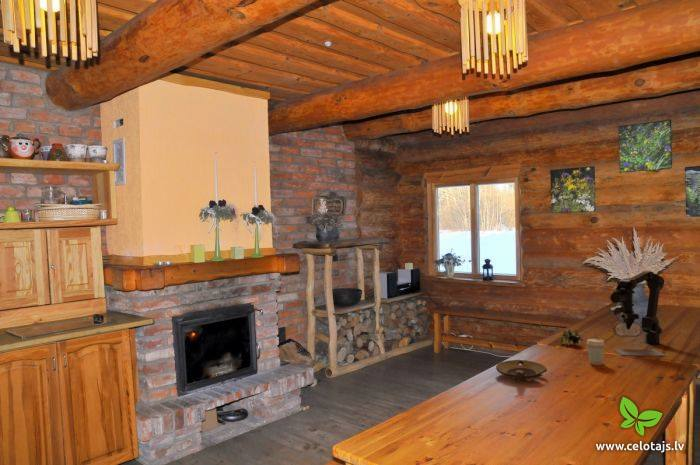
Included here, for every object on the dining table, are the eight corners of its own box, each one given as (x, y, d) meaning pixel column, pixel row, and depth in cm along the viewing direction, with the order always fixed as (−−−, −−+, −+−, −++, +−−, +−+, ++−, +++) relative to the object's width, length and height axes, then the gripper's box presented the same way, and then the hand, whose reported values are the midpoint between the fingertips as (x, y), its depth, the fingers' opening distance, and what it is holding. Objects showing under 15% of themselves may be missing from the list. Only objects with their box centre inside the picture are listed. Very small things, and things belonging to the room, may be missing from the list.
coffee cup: (607, 366, 259) (607, 342, 259) (588, 365, 261) (588, 341, 261) (602, 361, 268) (602, 338, 268) (584, 361, 269) (584, 338, 269)
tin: (640, 336, 296) (639, 321, 296) (643, 336, 293) (642, 321, 293) (612, 336, 298) (611, 321, 299) (614, 336, 295) (613, 321, 296)
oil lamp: (554, 375, 246) (554, 359, 246) (529, 391, 224) (529, 373, 224) (509, 367, 261) (509, 352, 261) (481, 382, 238) (481, 365, 238)
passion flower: (574, 353, 306) (587, 338, 303) (567, 353, 299) (580, 337, 295) (559, 340, 314) (571, 325, 310) (552, 340, 306) (564, 324, 302)
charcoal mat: (655, 350, 287) (655, 349, 287) (665, 356, 275) (665, 355, 275) (613, 350, 290) (613, 349, 290) (621, 355, 279) (621, 354, 279)
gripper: (606, 299, 306) (606, 325, 306) (617, 304, 287) (618, 332, 288) (626, 299, 304) (626, 325, 304) (639, 304, 286) (639, 332, 286)
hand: (627, 328), depth 296 cm, fingers closed on tin, 2 cm apart
